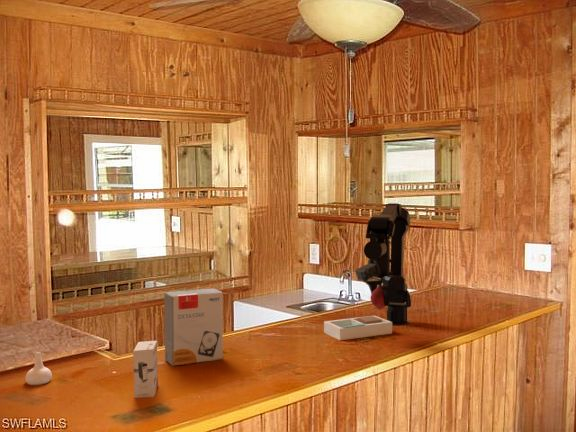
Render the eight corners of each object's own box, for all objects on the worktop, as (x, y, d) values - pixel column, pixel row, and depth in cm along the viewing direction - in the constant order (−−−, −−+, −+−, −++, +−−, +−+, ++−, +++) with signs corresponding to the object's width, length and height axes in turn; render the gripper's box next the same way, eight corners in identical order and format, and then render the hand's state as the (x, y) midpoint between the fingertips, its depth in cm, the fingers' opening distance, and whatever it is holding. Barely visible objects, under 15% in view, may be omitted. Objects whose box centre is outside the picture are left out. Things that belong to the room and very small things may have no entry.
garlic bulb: (42, 388, 156) (44, 358, 155) (20, 385, 157) (21, 354, 156) (55, 380, 162) (57, 351, 162) (34, 377, 163) (36, 348, 163)
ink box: (139, 386, 155) (138, 340, 155) (158, 385, 156) (157, 339, 155) (133, 398, 147) (132, 350, 146) (154, 397, 147) (153, 349, 146)
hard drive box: (172, 367, 171) (170, 296, 170) (164, 360, 178) (162, 292, 176) (224, 359, 178) (223, 291, 177) (214, 352, 185) (213, 287, 183)
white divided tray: (374, 326, 215) (374, 313, 215) (392, 333, 205) (392, 320, 205) (324, 332, 207) (323, 319, 207) (339, 340, 197) (339, 326, 197)
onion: (391, 308, 197) (390, 283, 197) (386, 311, 192) (385, 286, 192) (373, 307, 200) (373, 283, 199) (368, 311, 194) (367, 286, 194)
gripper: (344, 254, 200) (344, 301, 201) (375, 260, 183) (375, 312, 184) (373, 252, 205) (373, 298, 206) (406, 258, 188) (406, 308, 189)
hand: (380, 304), depth 196 cm, fingers closed on onion, 6 cm apart
